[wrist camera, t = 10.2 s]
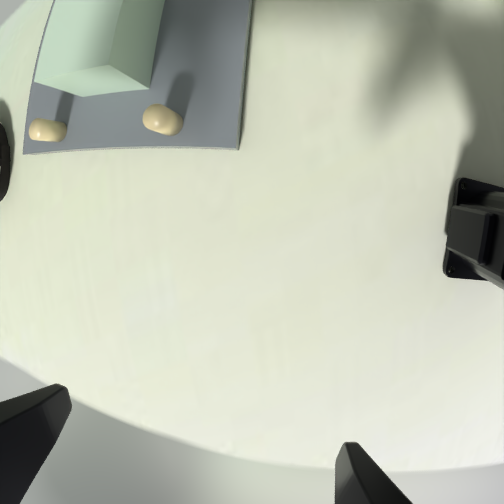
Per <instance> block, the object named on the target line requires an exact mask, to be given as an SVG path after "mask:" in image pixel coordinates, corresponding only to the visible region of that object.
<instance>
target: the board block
mask: <svg viewBox="0 0 504 504" xmlns="http://www.w3.org/2000/svg"><path fill="white" fill-rule="evenodd" d="M164 2H165V0H55V3H54V6H53V9H52V12H51V15H50V18H49V22H48V25H47V28H46V32H45V36H44V39H43V43H42V47H41V51H40V55H39V60H38V64H37V69H36V74H35V79H34V82H37V83H40V84H43V85H47V86H50V87H53V88H56V89H59V90H63V91H66V92H69V93H72V94H75V95H78V96H81V97H86V96H92V95H99V94H107V93H115V92H123V91H133V90H144V89H149V88H150V81H151V74H152V67H153V60H154V54H155V48H156V42H157V37H158V31H159V26H160V21H161V16H162V11H163V7H164Z"/></svg>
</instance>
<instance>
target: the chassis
mask: <svg viewBox="0 0 504 504" xmlns="http://www.w3.org/2000/svg"><path fill="white" fill-rule="evenodd" d="M54 3H55V0H54V1H53V4H52V7H51V10H50V13H49V16H48V19H47V22H46V26H45V29H44V32H43V36H42V40H41V44H40V47H39V51H38V56H37V60H36V64H35V69H34V74H33V79H32V84H31V90H30V96H29V102H28V109H27V116H26V125H25V134H24V145H23V155H35V154H45V153H56V152H68V151H82V150H99V149H125V148H200V149H226V150H239V139H240V127H241V115H242V103H243V91H244V80H245V69H246V59H247V48H248V38H249V28H250V18H251V8H252V0H165V2H164V7H163V11H162V16H161V21H160V26H159V31H158V37H157V42H156V48H155V54H154V60H153V67H152V74H151V81H150V88H149V89H144V90H133V91H123V92H115V93H107V94H99V95H92V96H86V97H81V96H78V95H75V94H72V93H69V92H66V91H63V90H59V89H56V88H53V87H50V86H47V85H43V84H40V83H37V82H34V79H35V74H36V69H37V64H38V60H39V55H40V51H41V47H42V43H43V39H44V36H45V32H46V28H47V25H48V22H49V18H50V15H51V12H52V9H53V6H54Z"/></svg>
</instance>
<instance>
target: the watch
mask: <svg viewBox="0 0 504 504" xmlns="http://www.w3.org/2000/svg"><path fill="white" fill-rule="evenodd" d="M0 166H1V168H0V201H1V200H2V199H3V198H4V196H5V194H6V192H7V189H8V186H9V178H10V147H9V146H8V142H7V136H6V132H5V129H4V127H3V126H2V124H1V123H0Z"/></svg>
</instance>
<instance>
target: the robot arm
mask: <svg viewBox="0 0 504 504" xmlns="http://www.w3.org/2000/svg"><path fill="white" fill-rule="evenodd" d="M462 182H463V183H464V188H463V189H462V187H461V184H462ZM446 246H447V250H446V255H445V261H444V266H443V273H444V274H445V275H446V276H447V277H450V278H461V279H473V280H485V281H490V282H492V283H493V284H495V285H497V286H498V287H500V288H502V289H503V290H504V188H502V187H498V186H494V185H491V184H487V183H483V182H480V181H476V180H472V179H468V178H458V179H457V180H456V183H455V193H454V202H453V207H452V209H451V215H450V223H449V230H448V236H447V242H446ZM450 267H452V270H451V271H450V272H449V268H450ZM71 408H72V404H71V400H70V396H69V392H68V389H67V388H66V387H65V386H62V385H60V384H53V385H50V386H47V387H45V388H41V389H39V390H36V391H33V392H30V393H27V394H24V395H21V396H18V397H15V398H12V399H9V400H6V401H3V402H0V504H20V502H21V500H22V499H23V497H24V495H25V493H26V492H27V490H28V488H29V486H30V485H31V483H32V481H33V479H34V478H35V476H36V474H37V473H38V471H39V469H40V468H41V466H42V464H43V463H44V461H45V460H46V458H47V456H48V455H49V453H50V451H51V450H52V448H53V446H54V445H55V443H56V441H57V439H58V437H59V435H60V433H61V431H62V429H63V426H64V424H65V422H66V420H67V418H68V416H69V414H70V412H71ZM335 504H413V503H412V502H411V501H410V500H409V499H408V498H407V497H406V496H405V495H404V494H403V493H402V491H401V490H400V489H399V488H398V487H397V486H396V485H395V484H394V483H393V482H392V481H391V480H390V479H389V477H388V476H387V475H386V474H385V473H384V472H383V471H382V469H381V468H380V467H379V466H378V465H377V464H376V463H375V462H374V461H373V459H372V458H371V457H370V456H369V455H368V454H367V453H366V451H365V450H364V449H363V448H362V447H361V446H360V445H359V444H358V443H357V442H345V443H344V444H343V445H342V447H341V449H340V452H339V454H338V456H337V458H336V463H335Z"/></svg>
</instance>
